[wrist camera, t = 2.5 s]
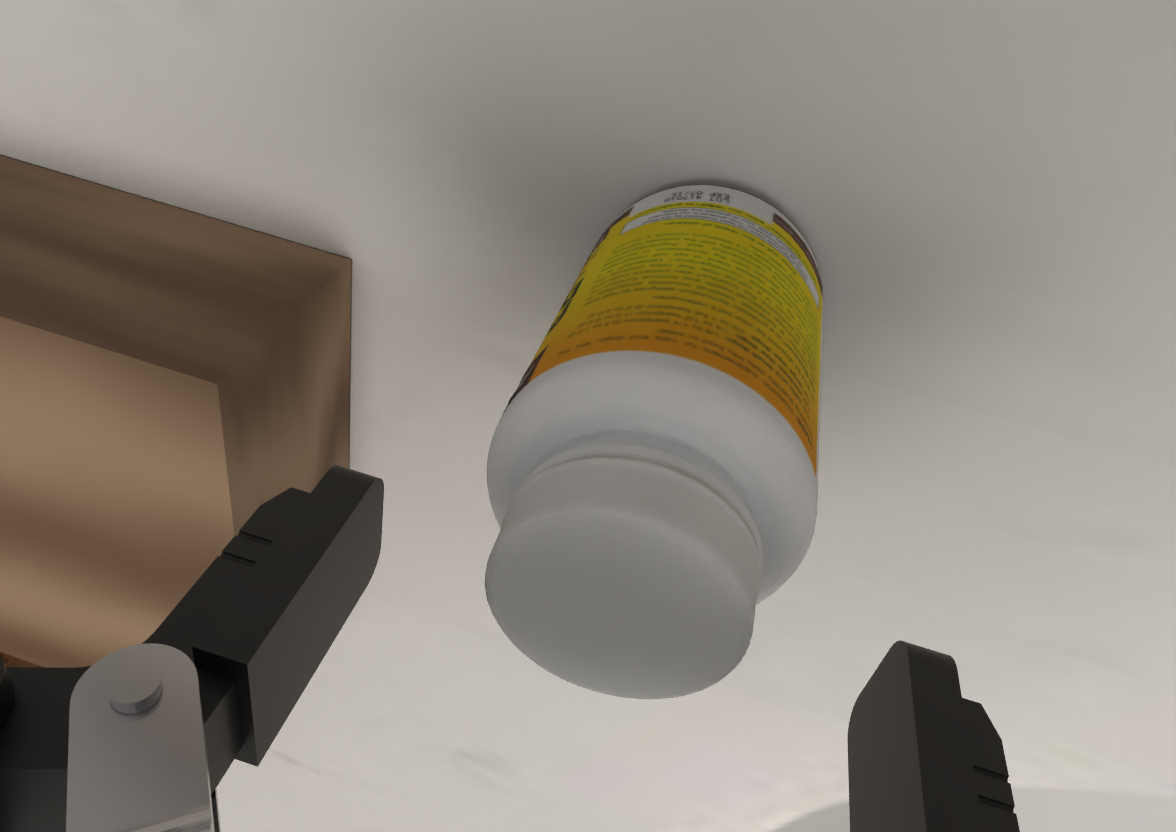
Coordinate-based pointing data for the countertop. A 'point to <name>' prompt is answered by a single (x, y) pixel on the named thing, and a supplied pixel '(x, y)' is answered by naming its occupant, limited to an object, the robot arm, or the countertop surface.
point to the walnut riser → (148, 402)
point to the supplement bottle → (662, 448)
